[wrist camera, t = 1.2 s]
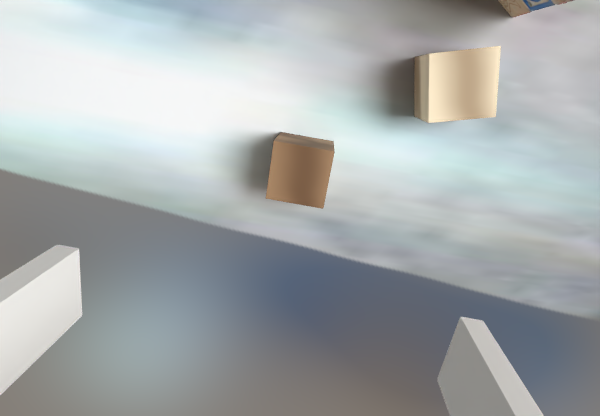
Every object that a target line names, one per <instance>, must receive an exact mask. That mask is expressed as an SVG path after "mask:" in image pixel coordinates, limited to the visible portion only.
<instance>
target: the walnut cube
mask: <svg viewBox="0 0 600 416" xmlns="http://www.w3.org/2000/svg"><path fill="white" fill-rule="evenodd" d="M333 157H334V142H333V141H329V140H323V139H317V138H312V137H306V136H300V135H295V134H289V133H283V132H280V134H279V135H278V136H277V137H276V139H275V140H274V142H273V150H272V157H271V164H270V171H269V178H268V186H267V193H266V199H272V200H278V201H283V202H289V203H294V204H300V205H306V206H311V207H317V208H323V207H324V202H325V197H326V192H327V187H328V182H329V177H330V172H331V167H332V162H333Z"/></svg>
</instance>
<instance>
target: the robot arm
mask: <svg viewBox="0 0 600 416" xmlns="http://www.w3.org/2000/svg"><path fill="white" fill-rule="evenodd" d="M81 316H82V302H81V281H80V259H79V248H74V247H68V246H62V245H55V246H54V247H52V248H51V249H49V250H47V251H46V252H45V253H43V254H41V255H39V256H38V257H36V258H35V259H33V260H31V261H30V262H28V263H27V264H25V265H23V266H22V267H20V268H18V269H17V270H15V271H13V272H12V273H10V274H9V275H7V276H6V277H4V278H2V279H1V280H0V395H1V394H2V393H3V392H4V391H5V390H6V389H7V388H8V387H9V386H10V385H11V384H12V383H13V382H14V381H15V380H16V379H17V378H18V377H20V376H21V375H22V374H23V373H24V371H26V370H27V369H28V368H29V367H30V366H31V365H32V364H33V363H34V362H35V361H36V360H37V359H38V358H39V357H40V356H41V355H42V354H43V353H44V352H45V351H46V350H47V349H48V348H49V347H50V346H51V345H52V344H53V343H54V342H56V340H58V339H59V338H60V337H61V336H62V335H63V334H64V333H65V332H66V331H67V330H68V329H69V328H70V327H71V326H72V325H73V324H74V323H75V322H76V321H77V320H78V319H79V318H80V317H81ZM437 381H438V384H439V386H440V389H441V392H442V395H443V398H444V400H445V403H446V406H447V408H448V411H449V414H450V416H543V414H542V412H541V411H540V409H539V408H538V406H537V405H536V403H535V402H534V400H533V398H532V397H531V395H530V394H529V392H528V391H527V389H526V387H525V386H524V384H523V383H522V381H521V380H520V378H519V376H518V375H517V373H516V372H515V370H514V369H513V367H512V365H511V364H510V363H509V361H508V359H507V358H506V356H505V355H504V353H503V351H502V350H501V348H500V347H499V345H498V343H497V342H496V340H495V339H494V337H493V336H492V334H491V333H490V331H489V329H488V328H487V326H486V325H485V323H484V322H483V321H481V320H476V319H470V318H465V317H460V319H459V322H458V325H457V327H456V330H455V333H454V335H453V338H452V341H451V344H450V346H449V349H448V352H447V354H446V357H445V360H444V362H443V365H442V368H441V371H440V373H439V376H438V379H437Z"/></svg>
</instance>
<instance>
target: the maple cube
mask: <svg viewBox="0 0 600 416" xmlns="http://www.w3.org/2000/svg"><path fill="white" fill-rule="evenodd" d="M500 50H501V46H495V47H486V48H477V49H468V50H459V51H449V52H440V53H431V54H426V55H421V56H417V57H414V117H417V118H419V119H421V120H423V121H425V122H428V123H433V122H444V121H455V120H466V119H477V118H488V117H496V106H497V92H498V78H499V64H500Z"/></svg>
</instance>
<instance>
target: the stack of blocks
mask: <svg viewBox="0 0 600 416" xmlns="http://www.w3.org/2000/svg"><path fill="white" fill-rule="evenodd" d="M498 1H499V2H500V4H501V5H502V6H503V7H504V8H505V10H506V11H507V12H508V13H509V14H510V16H511V17H516V16H519V15H523V14H526V13H529V12H532V11H534V10H538V9H542V8H545V7H549V6H553V5H555V4H557V5H559V4H562V3H567V2H570V1H573V0H498Z"/></svg>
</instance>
